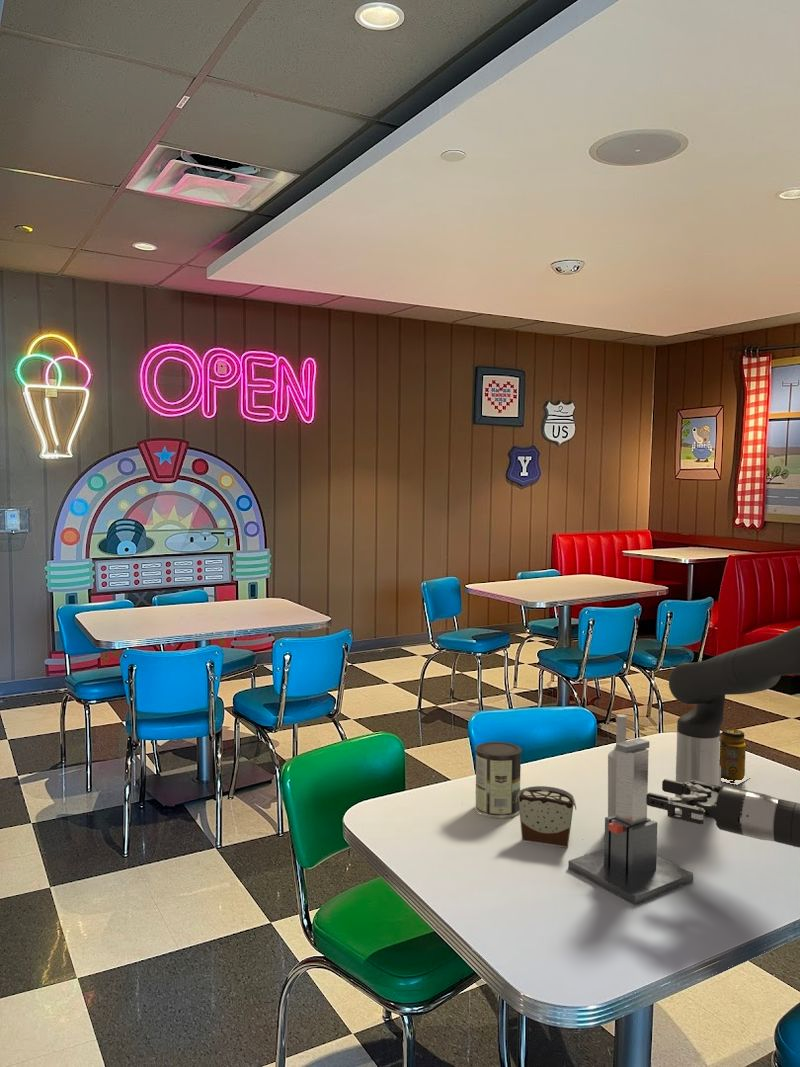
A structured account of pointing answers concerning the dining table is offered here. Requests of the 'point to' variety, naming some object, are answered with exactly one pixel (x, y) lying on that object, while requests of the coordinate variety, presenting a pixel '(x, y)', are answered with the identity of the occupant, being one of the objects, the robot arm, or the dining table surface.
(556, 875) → the dining table surface
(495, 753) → the coffee can
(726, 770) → the condiment
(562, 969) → the dining table surface
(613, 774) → the bottle
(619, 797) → the post
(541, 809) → the food container
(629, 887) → the stand
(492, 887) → the dining table surface
